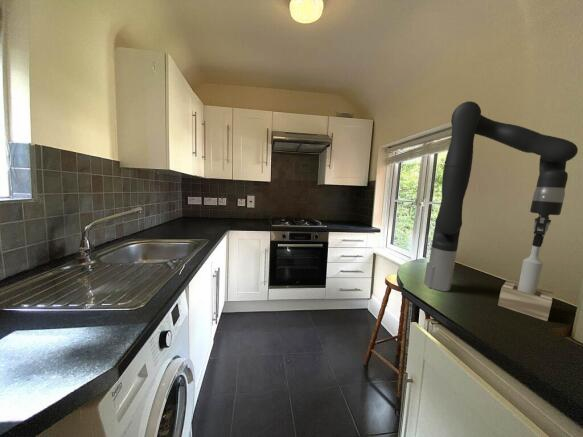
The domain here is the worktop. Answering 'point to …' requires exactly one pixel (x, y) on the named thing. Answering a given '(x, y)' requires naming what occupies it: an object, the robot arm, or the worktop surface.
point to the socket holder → (526, 301)
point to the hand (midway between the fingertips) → (537, 245)
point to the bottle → (530, 272)
